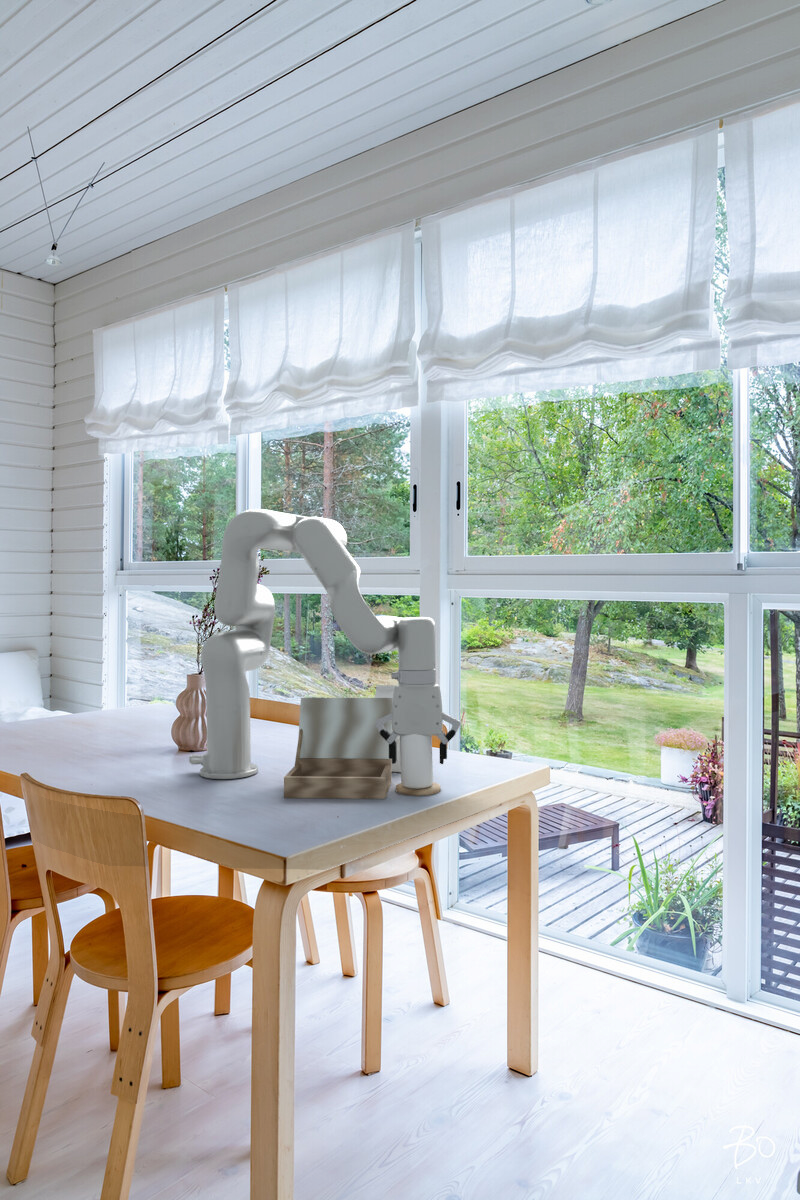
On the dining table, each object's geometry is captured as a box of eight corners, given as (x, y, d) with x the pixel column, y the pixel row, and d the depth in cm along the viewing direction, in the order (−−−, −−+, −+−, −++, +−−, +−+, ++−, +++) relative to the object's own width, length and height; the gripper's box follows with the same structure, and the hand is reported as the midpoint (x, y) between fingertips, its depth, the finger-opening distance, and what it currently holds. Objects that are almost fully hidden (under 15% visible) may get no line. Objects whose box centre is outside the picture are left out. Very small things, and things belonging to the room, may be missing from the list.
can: (434, 788, 158) (432, 728, 158) (401, 790, 158) (399, 729, 158) (432, 781, 165) (430, 723, 165) (401, 782, 165) (399, 724, 165)
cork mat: (394, 795, 157) (394, 791, 157) (397, 784, 166) (397, 780, 166) (439, 796, 157) (439, 792, 157) (441, 784, 166) (441, 781, 166)
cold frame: (284, 797, 157) (282, 709, 156) (302, 776, 174) (301, 697, 174) (385, 798, 155) (384, 709, 155) (393, 777, 173) (392, 697, 172)
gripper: (372, 680, 158) (373, 766, 158) (459, 680, 157) (460, 767, 157) (376, 676, 166) (377, 758, 166) (460, 676, 164) (460, 758, 164)
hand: (417, 762), depth 161 cm, fingers open, 9 cm apart
